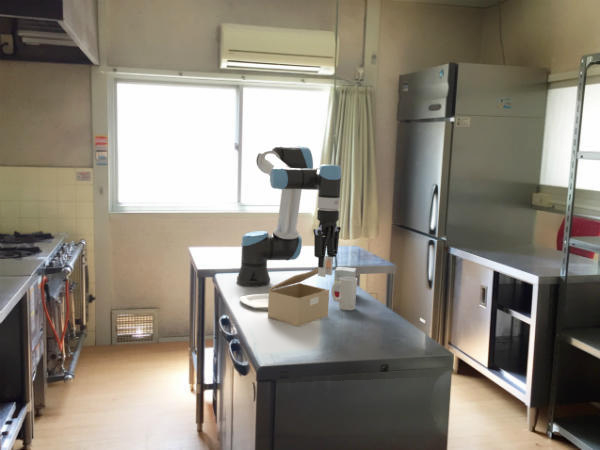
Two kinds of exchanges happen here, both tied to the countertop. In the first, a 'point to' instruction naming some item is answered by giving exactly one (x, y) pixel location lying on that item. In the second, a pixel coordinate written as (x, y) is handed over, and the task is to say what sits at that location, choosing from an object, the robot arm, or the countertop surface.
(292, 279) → the flap
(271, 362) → the countertop surface
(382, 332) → the countertop surface
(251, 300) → the plate
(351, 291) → the mug
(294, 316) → the carton
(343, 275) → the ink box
